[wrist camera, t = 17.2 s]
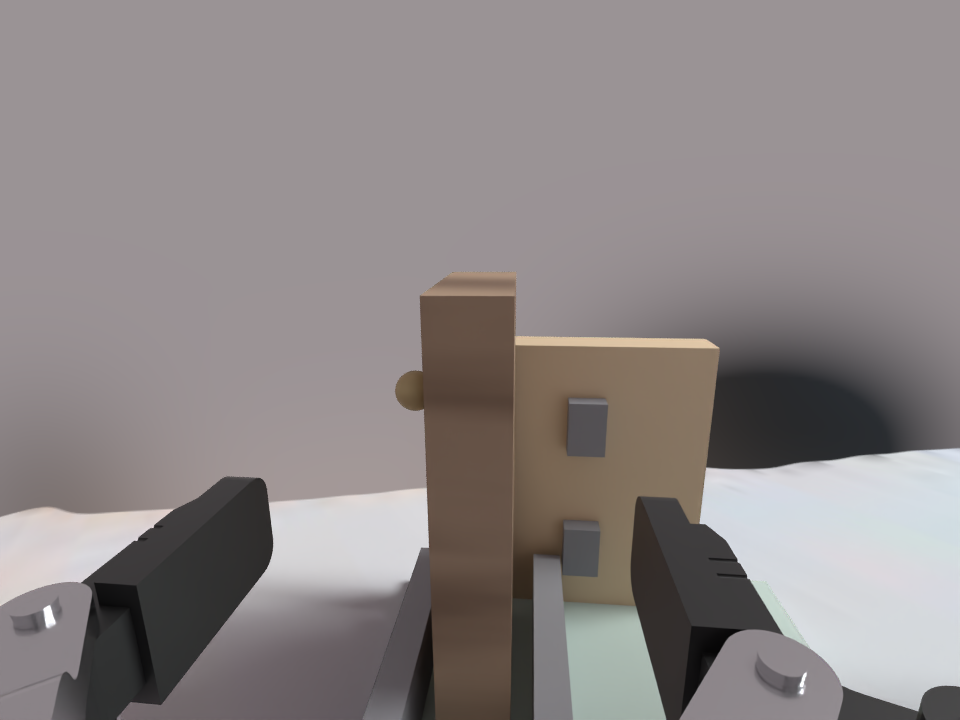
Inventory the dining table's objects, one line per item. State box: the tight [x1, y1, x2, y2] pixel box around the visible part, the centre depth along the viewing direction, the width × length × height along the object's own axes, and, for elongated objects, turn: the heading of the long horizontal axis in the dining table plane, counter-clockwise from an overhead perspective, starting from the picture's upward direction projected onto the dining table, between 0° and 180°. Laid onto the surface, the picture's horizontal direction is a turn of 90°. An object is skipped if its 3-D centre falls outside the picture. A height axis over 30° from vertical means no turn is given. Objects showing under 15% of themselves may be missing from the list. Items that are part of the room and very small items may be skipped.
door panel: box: [395, 272, 516, 720], centre depth 19 cm, size 7×4×16 cm, turn 176°
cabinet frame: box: [362, 336, 810, 720], centre depth 17 cm, size 17×18×14 cm
